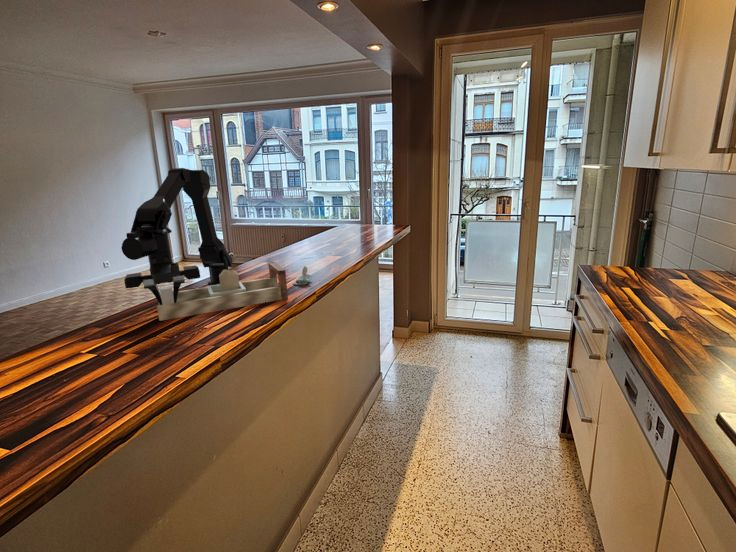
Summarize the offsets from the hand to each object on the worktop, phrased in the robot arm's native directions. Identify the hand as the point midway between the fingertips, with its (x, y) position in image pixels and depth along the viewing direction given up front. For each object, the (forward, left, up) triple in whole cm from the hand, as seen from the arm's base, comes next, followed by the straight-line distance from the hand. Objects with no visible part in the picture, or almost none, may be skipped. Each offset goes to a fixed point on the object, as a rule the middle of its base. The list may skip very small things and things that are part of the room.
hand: (168, 305), depth 116 cm
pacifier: (+19, +38, -2) cm, 43 cm away
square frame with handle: (+6, +8, -2) cm, 10 cm away
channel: (+9, +12, -2) cm, 15 cm away
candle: (+10, +14, -2) cm, 17 cm away
